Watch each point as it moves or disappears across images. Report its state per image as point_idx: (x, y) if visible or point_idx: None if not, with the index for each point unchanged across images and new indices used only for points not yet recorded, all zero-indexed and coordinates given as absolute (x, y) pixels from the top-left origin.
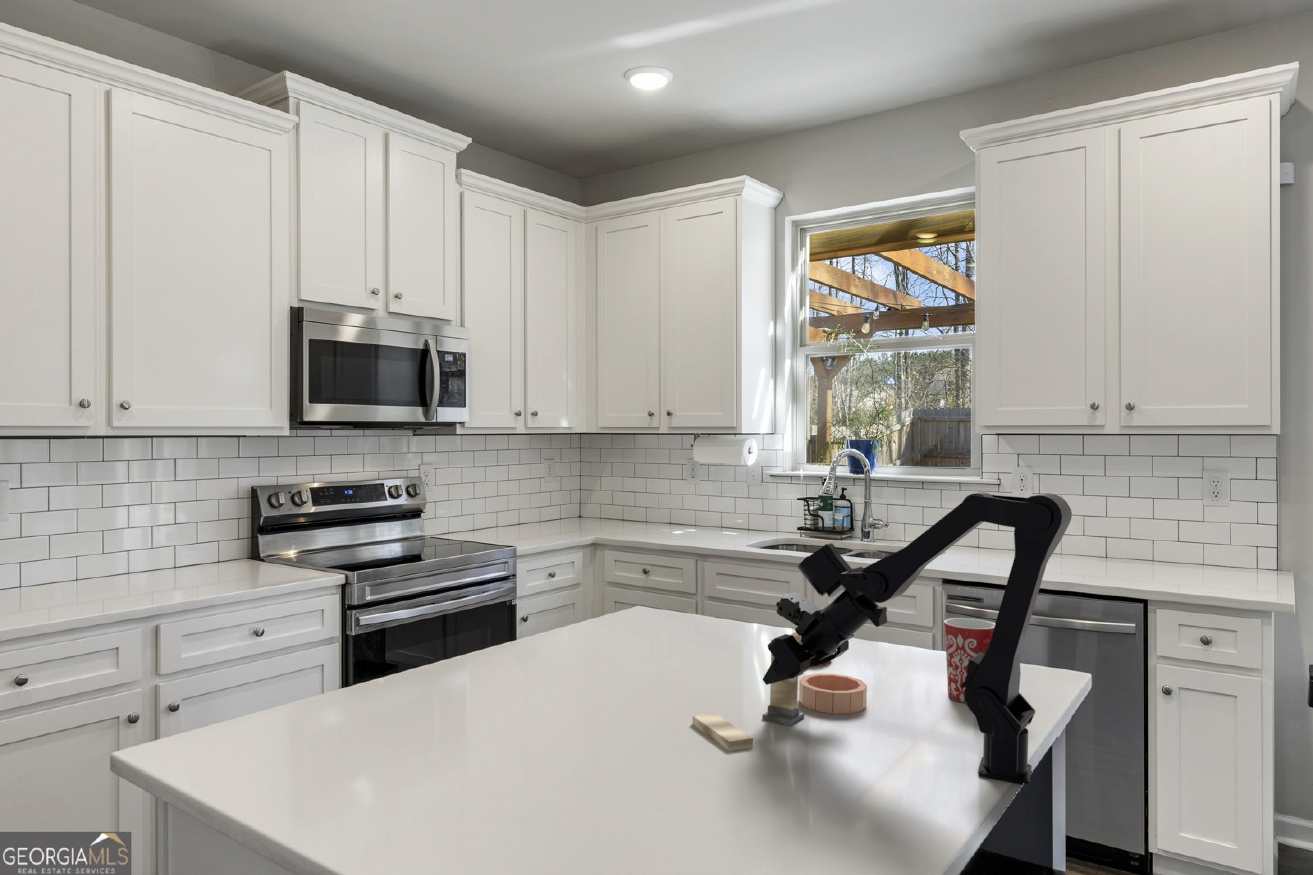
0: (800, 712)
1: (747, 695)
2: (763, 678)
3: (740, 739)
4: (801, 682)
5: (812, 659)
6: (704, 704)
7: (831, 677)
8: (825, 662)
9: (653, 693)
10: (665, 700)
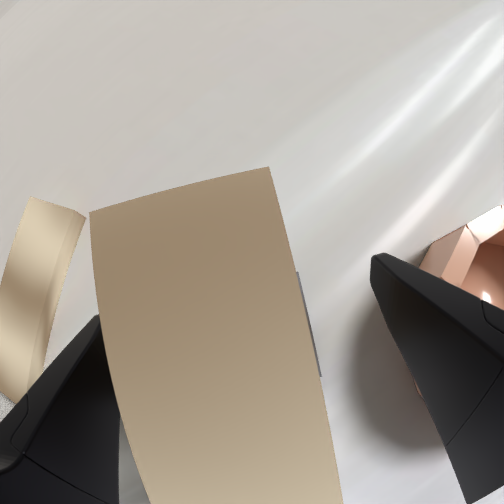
0: (317, 363)
1: (331, 118)
2: (92, 321)
3: (2, 390)
4: (456, 247)
5: (457, 428)
6: (171, 107)
7: None
8: (462, 490)
9: (154, 22)
10: (132, 56)
